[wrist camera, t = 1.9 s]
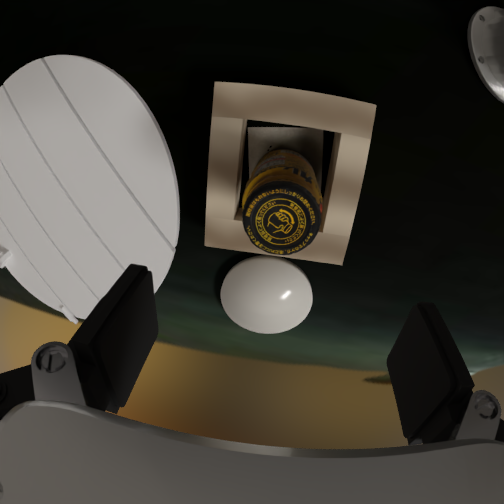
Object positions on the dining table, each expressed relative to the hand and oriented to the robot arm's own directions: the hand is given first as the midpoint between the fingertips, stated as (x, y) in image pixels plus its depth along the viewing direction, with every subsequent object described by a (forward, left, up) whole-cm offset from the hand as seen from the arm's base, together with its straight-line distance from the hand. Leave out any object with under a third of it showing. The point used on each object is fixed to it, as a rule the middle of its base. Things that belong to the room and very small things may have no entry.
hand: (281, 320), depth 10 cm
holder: (0, 0, -22) cm, 22 cm away
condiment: (0, 0, -22) cm, 23 cm away
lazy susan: (+6, -31, -23) cm, 39 cm away
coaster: (+15, 0, -22) cm, 27 cm away
